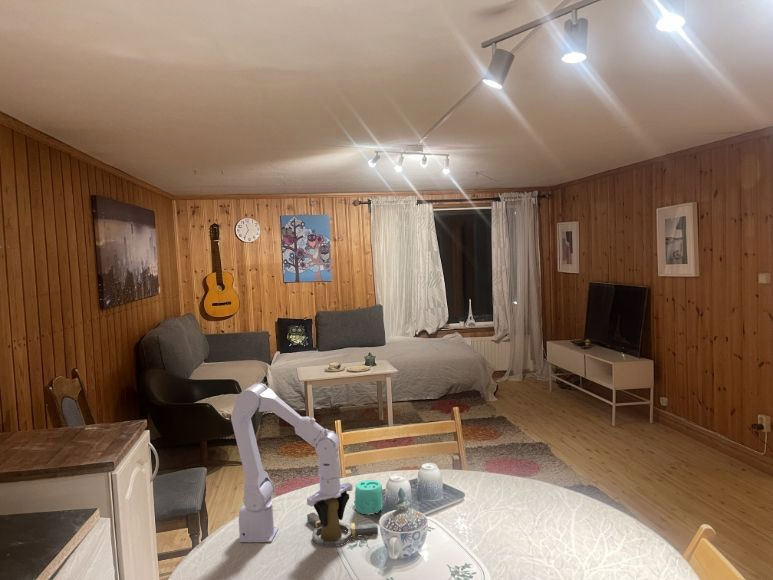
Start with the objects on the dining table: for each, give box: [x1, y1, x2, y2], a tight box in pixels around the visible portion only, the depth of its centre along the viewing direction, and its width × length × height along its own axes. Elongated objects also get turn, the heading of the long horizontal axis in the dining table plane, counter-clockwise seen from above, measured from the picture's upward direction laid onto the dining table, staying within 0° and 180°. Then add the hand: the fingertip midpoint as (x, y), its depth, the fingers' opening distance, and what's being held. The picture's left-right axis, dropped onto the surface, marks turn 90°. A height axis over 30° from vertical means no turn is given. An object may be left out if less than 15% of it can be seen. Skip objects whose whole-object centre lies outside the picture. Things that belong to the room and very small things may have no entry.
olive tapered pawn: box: [320, 497, 343, 540], centre depth 161 cm, size 6×6×11 cm
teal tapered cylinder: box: [354, 479, 383, 515], centre depth 177 cm, size 8×8×8 cm
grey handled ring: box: [306, 512, 379, 548], centre depth 163 cm, size 22×16×3 cm
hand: (331, 522), depth 161 cm, fingers closed on olive tapered pawn, 5 cm apart
